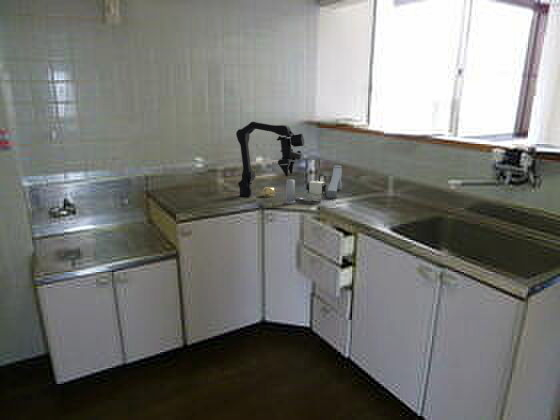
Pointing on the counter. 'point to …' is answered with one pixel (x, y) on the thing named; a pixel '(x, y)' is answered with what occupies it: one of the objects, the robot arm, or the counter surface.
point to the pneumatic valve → (317, 189)
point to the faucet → (335, 182)
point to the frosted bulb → (290, 192)
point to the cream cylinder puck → (269, 192)
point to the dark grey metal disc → (299, 198)
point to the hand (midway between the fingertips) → (289, 174)
